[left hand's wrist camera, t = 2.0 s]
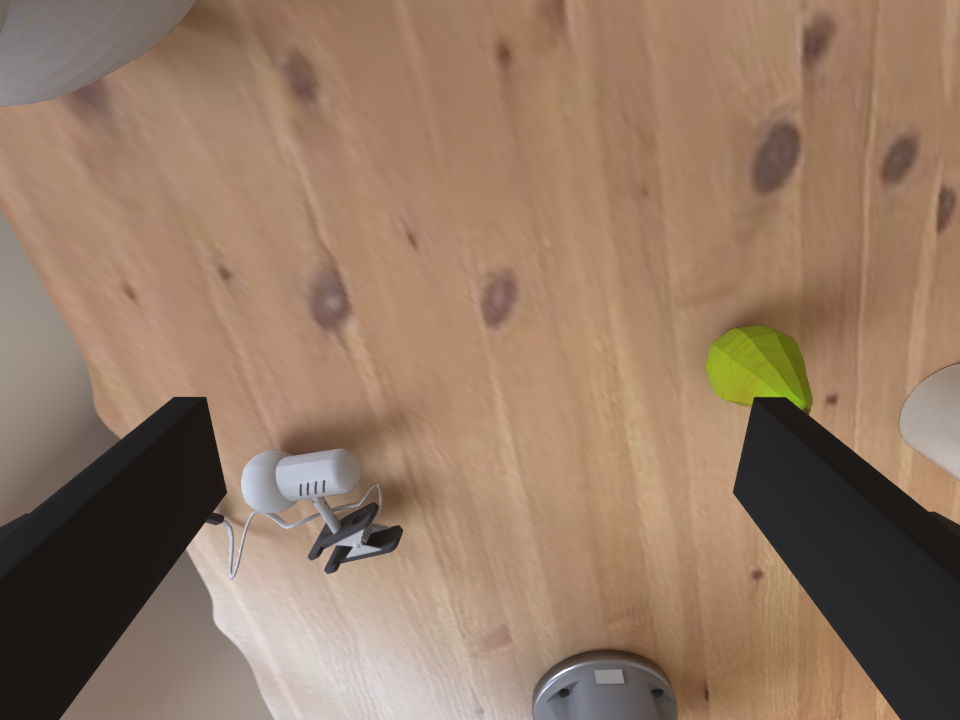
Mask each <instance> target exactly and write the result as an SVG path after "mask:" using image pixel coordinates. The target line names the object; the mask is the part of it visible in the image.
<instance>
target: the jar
mask: <svg viewBox="0 0 960 720" xmlns="http://www.w3.org/2000/svg"><path fill="white" fill-rule="evenodd" d="M899 427H900V432H901V435H902V437H903V439H904V441H905V442H906V443H907V444H908V445H909V446H910V447H911V448H912V449H914V450H915V451H917V452H918V453H919V454H921V455H922V456H924V457H925V458H927V459H928V460H930V461H931V462H933V463H934V464H935V465H937V466H938V467H940V468H941V469H943V470H944V471H946V472H947V473H949V474H950V475H951V476H953V477H954V478H956V479H957V480H959V481H960V363H959V364H955V365H951V366H948V367H946V368H943V369H941V370H939V371H937V372H935V373H934V374H932V375H930V376H929V377H928V378H926V379H925V380H924V381H922V382H921V383H920V384H919V385H918V386H917V387H916V388H915V389H914V390H913V391H912V393H911V394H910V395H909V397H908V398H907V400H906V402H905V403H904V406H903V408H902V411H901V414H900V420H899Z"/></svg>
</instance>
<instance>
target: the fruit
mask: <svg viewBox="0 0 960 720" xmlns="http://www.w3.org/2000/svg"><path fill="white" fill-rule="evenodd" d="M705 369H706V372H707V375H708V378H709V381H710V383H711V386H712V388H713V390H714V392H715V393H716V395H717V396H718V397H720V398H722V399H724V400H727V401H730V402H733V403H736V404H739V405H742V406H746V407H752V403H753V399H754V397H787V398H788V399H789V400H790V401H791V402H793V403H794V404H795V405H796V406H798V407H799V408H800V409H801V410H803V411H804V412H805V413H806V414H808V415H809V414H810V411H811V406H812V393H811V390H810V386H809V382H808V379H807V375H806V367H805V362H804V360H803V357H802V355H801V352H800V349H799V347H798V344H797V343H796V341H795V340H794V339H793V338H791V337H789V336H788V335H786V334H783V333H781V332H779V331H776V330H774V329H772V328H769V327H767V326H764V325H754V326H747V327H740V328H733V329H731V330H729V331H728V332H727V333H725V334H724V335H723V336H721V337H720V338H719V339H717V340H716V341H715V342H713V343H712V344H711V347H710V350H709V354H708V357H707V361H706V364H705Z"/></svg>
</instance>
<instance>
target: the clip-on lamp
mask: <svg viewBox="0 0 960 720" xmlns="http://www.w3.org/2000/svg"><path fill="white" fill-rule="evenodd" d="M360 477H361V464H360V461H359V459H358V458H357V456H356V455H355V454H354V453H353V452H351V451H350V450H348V449H334V450H327V451H321V452H314V453H308V454H301V455H295V456H293V455H292V454H290V453H288V452H285V451H278V450H270V451H266V452H263V453H261V454H258V455H256V456H255V457H254V458H253V459H251V460H250V461H249V462H248V463H247V465H246V467H245V468H244V471H243V474H242V478H241V488H242V493H243V497H244V499H245V500H246V502H247V504H248V505H249V506H250V507H251V508H252V509H254V510H255V511H254V512H253V513H252V514H251V515H250V516H249V519H248V521H247V523H246V526H245V529H244V533H243V537H242V541H241V545H240V550H239V554H238V558H237V563H236V566H235V569H234V572H233V574H232V564H233V551H234V535H233V530H232V527H231V525H230V524H229V523H228V521H226V520H224V516H223V515H220V514H216V513H213V512H212V514H211V515H210V516H209V518H208V519H207V521H206V522H207V523H210V524H213V525H218V524H223V525H224V526H225V528H226V529H227V530H228V534H229V539H230V554H229V570H228V573H229V578H230V579H233V578H234V577H235V575H236V573H237V570H238V567H239V563H240V559H241V554H242V549H243V545H244V540H245V536H246V532H247V528H248V526H249V523H250V520H251V518H252V517H253V516H254V515H255V514H257V513H262V514H265V515H267V516H269V517H270V518H272V519H273V520H274V521H276V522H277V523H278V524H279V525H280V526H282V527H283V528H285V529H290V528H293V527H296V526H298V525H300V524H303V523H305V522H307V521H310V520H312V519H315V518H317V517H320V516H322V517H323V519H324V520H325V522H326V524H325V526H324V528H323V530H322V531H321V533H320V535H319V537H318V539H317V540H316V542H315V544H314V546H313V548H312V549H311V551H310V553H309V555H308V558H309V559H310V560H314V559H316V558H318V557H319V556H320V555H321V553H322V551H323V549H325V548H327V547H329V546H331V545H336V547H335V549H334V551H333V553H332V555H331V557H330V559H329V561H328V563H327V565H326V567H325V569H324V571H325V572H326V573H327V574H330V573H334V572H336V571H337V569H338V568H339V566H340V564H341V563H345V562H350V561H354V560H359V559H363V558H368V557H372V556H376V555H381V554H385V553H390V552H392V551H393V550H394V549H396V547H397V546H398V543H399V541H400V538H401V536H402V533H403V529H402V528H401V527H400V526H399V525H397V526H393V527H389V526H385V525H380V524H376V523H372V522H373V521H374V520H375V519H376V518H377V517H378V516H379V514H380V511H381V508H382V493H381V488H380V486H379V485H378V484H374V485H373V486H372V487H371V488H370V489H369V490H368V492H367V493H366V495H365V496H364V498H363V499H362V500H361V502H358V503H352V504H347V505H342V506H339V507H335V508H332V509H331V508H330V506H329V505H328V503H327V502H326V500H325V499H324V497H323V496H330V495H336V494H343V493H347V492H350V491H351V490H353V489H354V488H355V486H356V485H357V484H358V482H359V480H360ZM375 486H377V488H378V491H379V506H378V505H377V504H376V503H375V502H372V503H371V504H369V505H367V506H365V507H363V508H361V509H359V510H357V511H355V512H353V513H352V514H350V515H348V516H346V517H344V518H342V519H340V520H338V519H337V517H336V516H335V514H334V512H335V511H338V510H342V509H346V508H351V507H357V506H360V505H361V504H363V502H364V501H365V500H366V498H367V496H368V495H369V493H370V491H371V490H372V489H373V488H374V487H375ZM310 498H312V499H313V500H312V502H313V503H314V505H315V506H316V508H317V510H318V511H319V513H317V514H315V515H312V516H310V517H308V518H305V519H303V520H301V521H298V522H296V523H294V524H291V525H289V524H287V523H286V522H285V521H284V520H283V519H281V518H280V517H279V516H277V515H276V514H274V513H278V512H282V511H284V510H286V509H288V508H290V507H291V506H293V505H294V504H295V503H296V502H297V501H298V500H304V499H310ZM378 507H379V509H378ZM377 510H378V512H377ZM376 512H377V513H376ZM375 514H376V515H375Z"/></svg>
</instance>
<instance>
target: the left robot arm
mask: <svg viewBox="0 0 960 720" xmlns="http://www.w3.org/2000/svg"><path fill="white" fill-rule="evenodd" d="M226 493H227V490H226V485H225V481H224V476H223V472H222V467H221V463H220V458H219V454H218V449H217V444H216V440H215V435H214V431H213V426H212V422H211V417H210V412H209V408H208V403H207V399H206V397H173V398H172V399H171V400H170V401H169V402H167V403H166V404H165V405H164V406H162V407H161V408H160V409H159V410H157V411H156V412H155V413H154V414H152V415H151V416H150V417H149V418H147V419H146V420H145V421H144V422H142V423H141V424H140V425H139V426H137V427H136V428H135V429H134V430H132V431H131V432H130V433H129V434H128V435H126V436H125V437H124V438H123V439H121V440H120V441H119V442H118V443H116V444H115V445H114V446H113V447H111V448H110V449H109V450H108V451H106V452H105V453H104V454H103V455H101V456H100V457H99V458H98V459H97V460H95V461H94V462H93V463H92V464H90V465H89V466H88V467H87V468H85V469H84V470H83V471H82V472H80V473H79V474H78V475H77V476H75V477H74V478H73V479H72V480H70V481H69V482H68V483H67V484H65V485H64V486H63V487H62V488H61V489H59V490H58V491H57V492H56V493H54V494H53V495H52V496H51V497H49V498H48V499H47V500H46V501H44V502H43V503H42V504H41V505H39V506H38V507H37V508H36V509H34V510H33V511H32V512H31V513H29V514H24V515H22V516H21V517H19V518H17V519H15V520H13V521H11V522H9V523H7V524H6V525H4V526H2V527H0V720H59V719H60V718H61V717H62V715H63V714H64V713H65V711H66V710H67V708H68V707H69V706H70V704H71V703H72V702H73V700H74V699H75V698H76V696H77V695H78V694H79V692H80V691H81V689H82V688H83V687H84V685H85V684H86V683H87V681H88V680H89V679H90V677H91V676H92V675H93V673H94V672H95V671H96V669H97V668H98V667H99V665H100V664H101V662H102V661H103V660H104V658H105V657H106V656H107V654H108V653H109V652H110V650H111V649H112V648H113V646H114V645H115V643H116V642H117V641H118V640H119V638H120V637H121V635H122V634H123V633H124V631H125V630H126V629H127V627H128V626H129V625H130V623H131V622H132V621H133V619H134V618H135V617H136V615H137V614H138V612H139V611H140V610H141V608H142V607H143V606H144V604H145V603H146V602H147V600H148V599H149V597H150V596H151V595H152V594H153V592H154V591H155V589H156V588H157V587H158V585H159V584H160V583H161V581H162V580H163V579H164V577H165V576H166V575H167V573H168V572H169V570H170V569H171V568H172V566H173V565H174V564H175V562H176V561H177V560H178V558H179V557H180V556H181V554H182V553H183V552H184V550H185V549H186V548H187V546H188V545H189V543H190V542H191V541H192V539H193V538H194V537H195V535H196V534H197V533H198V531H199V530H200V529H201V527H202V526H203V525H204V523H205V522H206V521H207V519H208V518H209V516H210V515H211V514H212V512H213V511H214V510H215V508H216V507H217V506H218V504H219V503H220V502H221V500H222V499H223V498H224V496H225V495H226ZM733 493H734V495H735V496H736V498H737V499H738V500H739V502H740V503H741V504H742V506H743V507H744V508H745V510H746V511H747V512H748V514H749V515H750V516H751V518H752V519H753V521H754V522H755V523H756V525H757V526H758V527H759V529H760V530H761V531H762V533H763V534H764V535H765V537H766V538H767V539H768V541H769V542H770V543H771V545H772V546H773V548H774V549H775V550H776V552H777V553H778V554H779V556H780V557H781V558H782V560H783V561H784V562H785V564H786V565H787V566H788V568H789V569H790V571H791V572H792V573H793V575H794V576H795V577H796V579H797V580H798V581H799V583H800V584H801V585H802V587H803V588H804V589H805V591H806V592H807V594H808V595H809V596H810V598H811V599H812V600H813V602H814V603H815V604H816V606H817V607H818V608H819V610H820V611H821V612H822V614H823V615H824V617H825V618H826V619H827V621H828V622H829V623H830V625H831V626H832V627H833V629H834V630H835V631H836V633H837V634H838V635H839V637H840V638H841V640H842V641H843V642H844V644H845V645H846V646H847V648H848V649H849V650H850V652H851V653H852V654H853V656H854V657H855V658H856V660H857V661H858V663H859V664H860V665H861V667H862V668H863V669H864V671H865V672H866V673H867V675H868V676H869V677H870V679H871V680H872V681H873V683H874V684H875V685H876V687H877V688H878V690H879V691H880V692H881V694H882V695H883V696H884V698H885V699H886V700H887V702H888V703H889V704H890V706H891V707H892V708H893V710H894V711H895V713H896V714H897V715H898V717H899V718H900V719H901V720H960V525H959V524H957V523H955V522H953V521H951V520H949V519H947V518H946V517H944V516H942V515H940V514H938V513H936V512H928V511H927V510H926V509H924V508H923V507H922V506H921V505H919V504H918V503H917V502H916V501H914V500H913V499H912V498H911V497H909V496H908V495H907V494H906V493H904V492H903V491H902V490H901V489H900V488H898V487H897V486H896V485H895V484H893V483H892V482H891V481H890V480H888V479H887V478H886V477H885V476H883V475H882V474H881V473H880V472H878V471H877V470H876V469H875V468H873V467H872V466H871V465H870V464H868V463H867V462H866V461H865V460H864V459H862V458H861V457H860V456H859V455H857V454H856V453H855V452H854V451H852V450H851V449H850V448H849V447H847V446H846V445H845V444H844V443H842V442H841V441H840V440H839V439H837V438H836V437H835V436H834V435H832V434H831V433H830V432H829V431H828V430H826V429H825V428H824V427H823V426H821V425H820V424H819V423H818V422H816V421H815V420H814V419H813V418H811V417H810V416H809V415H808V414H806V413H805V412H804V411H803V410H801V409H800V408H799V407H798V406H796V405H795V404H794V403H793V402H791V401H790V400H789V399H788V398H787V397H754V399H753V403H752V408H751V412H750V417H749V422H748V426H747V431H746V435H745V440H744V444H743V449H742V454H741V458H740V463H739V467H738V472H737V476H736V481H735V485H734V490H733ZM532 709H533V719H534V720H678V713H677V705H676V699H675V696H674V693H673V691H672V688H671V685H670V682H669V680H668V678H667V676H666V675H665V673H664V672H663V671H662V670H661V669H660V668H659V667H658V666H656V665H655V664H654V663H652V662H651V661H649V660H647V659H645V658H643V657H640V656H637V655H634V654H631V653H626V652H619V651H597V652H590V653H585V654H581V655H577V656H574V657H572V658H569V659H567V660H565V661H563V662H561V663H559V664H558V665H556V666H554V667H553V668H552V669H550V670H549V671H548V672H547V673H546V674H545V675H544V676H543V677H542V678H541V680H540V681H539V682H538V684H537V686H536V688H535V690H534V693H533V698H532Z"/></svg>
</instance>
